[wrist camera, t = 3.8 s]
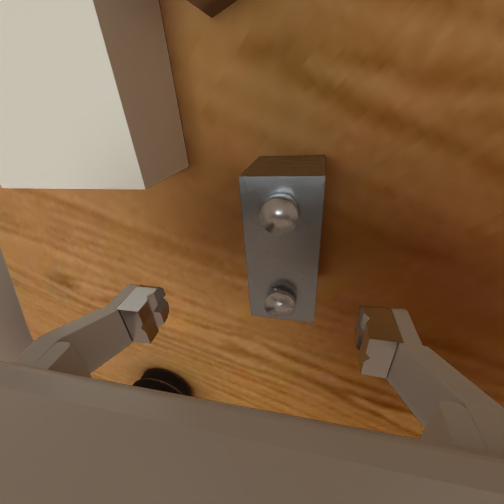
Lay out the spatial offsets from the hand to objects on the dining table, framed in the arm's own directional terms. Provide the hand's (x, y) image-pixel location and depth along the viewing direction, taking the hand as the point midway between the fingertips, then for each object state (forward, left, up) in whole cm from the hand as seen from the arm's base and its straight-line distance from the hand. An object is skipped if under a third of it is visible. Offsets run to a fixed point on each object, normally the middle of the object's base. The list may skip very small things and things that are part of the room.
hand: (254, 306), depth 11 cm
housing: (0, -1, -9) cm, 9 cm away
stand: (+10, +11, -9) cm, 18 cm away
